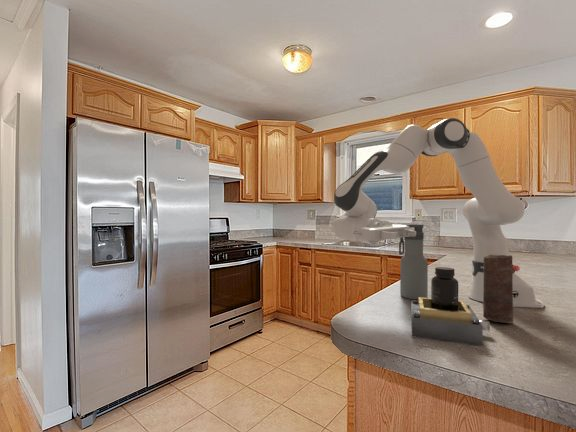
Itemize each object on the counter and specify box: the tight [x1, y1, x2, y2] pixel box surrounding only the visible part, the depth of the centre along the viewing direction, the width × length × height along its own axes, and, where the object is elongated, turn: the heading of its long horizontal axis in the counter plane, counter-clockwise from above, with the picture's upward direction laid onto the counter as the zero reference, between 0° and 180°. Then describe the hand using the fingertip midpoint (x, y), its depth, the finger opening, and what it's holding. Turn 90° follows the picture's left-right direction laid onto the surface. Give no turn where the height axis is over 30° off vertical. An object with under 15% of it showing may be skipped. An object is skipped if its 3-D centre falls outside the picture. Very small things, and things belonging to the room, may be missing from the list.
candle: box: [482, 255, 514, 324], centre depth 92 cm, size 8×7×20 cm
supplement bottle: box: [430, 266, 459, 311], centre depth 87 cm, size 7×7×12 cm
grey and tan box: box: [410, 297, 491, 347], centre depth 85 cm, size 19×16×7 cm
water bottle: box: [398, 223, 429, 301], centre depth 120 cm, size 10×10×28 cm
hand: (406, 234), depth 96 cm, fingers open, 8 cm apart
